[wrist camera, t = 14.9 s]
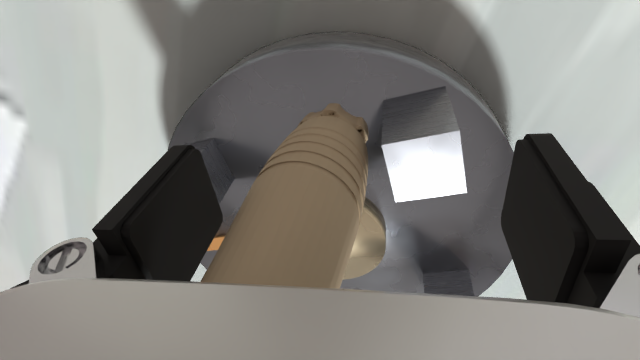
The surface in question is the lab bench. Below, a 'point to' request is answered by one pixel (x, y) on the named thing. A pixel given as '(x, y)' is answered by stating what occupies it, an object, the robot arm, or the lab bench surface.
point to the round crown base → (371, 154)
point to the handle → (300, 208)
